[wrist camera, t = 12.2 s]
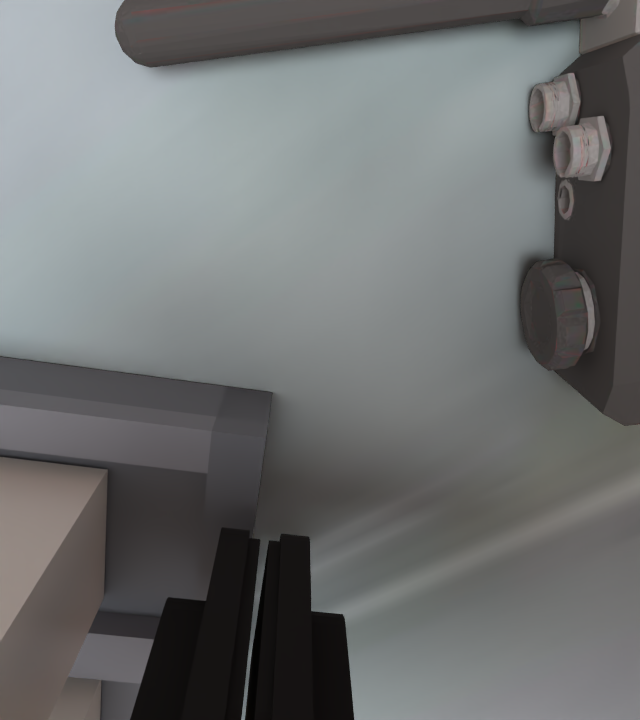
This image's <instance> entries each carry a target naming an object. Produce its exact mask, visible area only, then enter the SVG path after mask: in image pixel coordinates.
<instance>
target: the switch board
mask: <svg viewBox="0 0 640 720" xmlns="http://www.w3.org/2000/svg"><path fill="white" fill-rule="evenodd" d="M271 399H272V393H271V392H264V391H256V390H249V389H241V388H233V387H226V386H218V385H211V384H203V383H195V382H188V381H180V380H173V379H165V378H157V377H150V376H142V375H135V374H127V373H119V372H112V371H104V370H97V369H89V368H82V367H74V366H66V365H59V364H51V363H44V362H36V361H28V360H21V359H13V358H6V357H0V457H6V458H15V459H23V460H31V461H40V462H48V463H57V464H65V465H73V466H82V467H90V468H98V469H107V470H108V478H107V511H106V544H105V577H104V598H103V601H102V603H101V605H100V607H99V609H98V612H97V614H96V616H95V618H94V620H93V623H92V625H91V627H90V629H89V631H88V634H87V636H86V638H85V640H84V642H83V645H82V647H81V649H80V651H79V653H78V656H77V658H76V660H75V662H74V664H73V667H72V669H71V671H70V673H69V675H68V677H74V678H85V679H96V680H101V709H100V720H130V718H131V715H132V711H133V708H134V705H135V701H136V698H137V695H138V691H139V688H140V685H141V681H142V678H143V675H144V671H145V668H146V665H147V661H148V658H149V655H150V651H151V648H152V645H153V641H154V638H155V635H156V632H157V628H158V625H159V622H160V618H161V615H162V612H163V608H164V605H165V602H166V600H167V598H168V597H172V598H182V599H192V600H202V601H206V598H207V593H208V588H209V584H210V579H211V574H212V570H213V565H214V560H215V555H216V551H217V546H218V541H219V536H220V532H221V528H222V527H224V528H234V529H243V530H250V533H249V538H252V539H253V532H254V524H255V517H256V510H257V502H258V495H259V488H260V480H261V473H262V465H263V458H264V451H265V443H266V436H267V429H268V421H269V414H270V407H271Z"/></svg>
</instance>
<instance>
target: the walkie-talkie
mask: <svg viewBox="0 0 640 720" xmlns="http://www.w3.org/2000/svg"><path fill="white" fill-rule="evenodd" d="M518 18H520V19H521V20H522V21H523V22H524V23H525V24H526V25H527V26H533V25H540V24H547V23H555V22H562V21H569V20H577V19H580V47H579V53H580V54H581V56H580V57H578V58H577V59H576V60H575V61H574V62H573V63H572V64H571V65H570V66H569V67H568V68H567V69H565V70H564V71H563V72H562V73H561V74H560V75H559V76H558V77H554V80H553V82H549V83H541V84H538V85H535V87H534V88H533V90H532V94H531V98H530V104H529V118H530V122H531V126H532V128H533V130H534V131H535V132H544V131H546V132H547V131H552V133H553V136H554V135H556V137H555V141H554V147H553V161H554V167H555V170H556V188H555V237H554V259H549V260H543V261H537V262H536V263H535V264H534V265H533V267H531V268H530V269H529V271H528V273H527V275H526V278H525V280H524V283H523V285H522V291H521V300H520V301H521V318H522V323H523V328H524V333H525V338H526V342H527V345H528V348H529V350H530V352H531V353H532V355H533V356H534V358H535V360H536V361H537V362H538V363H539V364H541V365H542V366H543V367H544V368H546V369H547V370H554V371H555V372H556V373H558V374H559V375H560V376H561V377H562V378H563V379H564V380H565V381H567V382H568V383H569V384H570V385H571V386H572V387H573V388H574V389H576V390H577V391H578V392H579V393H580V394H581V395H582V396H583V397H585V398H586V399H587V400H588V401H589V402H590V403H591V404H592V405H594V406H595V407H596V408H597V409H598V410H599V411H600V412H601V413H603V414H604V415H606V416H608V417H610V418H612V419H613V420H615V421H617V422H619V423H621V424H622V425H624V426H628V425H637V424H640V0H125V1H124V2H123V3H122V5H121V6H120V8H119V9H118V11H117V14H116V20H115V33H116V37H117V40H118V42H119V44H120V46H121V48H122V50H123V52H124V53H125V54H126V55H128V56H129V57H130V58H131V59H132V60H133V61H134V62H135V63H137V64H141V65H144V66H147V67H157V66H165V65H173V64H180V63H188V62H195V61H203V60H210V59H218V58H225V57H233V56H240V55H248V54H255V53H263V52H270V51H278V50H285V49H293V48H300V47H308V46H315V45H323V44H330V43H338V42H345V41H353V40H361V39H368V38H376V37H383V36H391V35H398V34H406V33H413V32H421V31H428V30H436V29H443V28H451V27H458V26H466V25H473V24H481V23H488V22H496V21H503V20H511V19H518Z"/></svg>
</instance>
